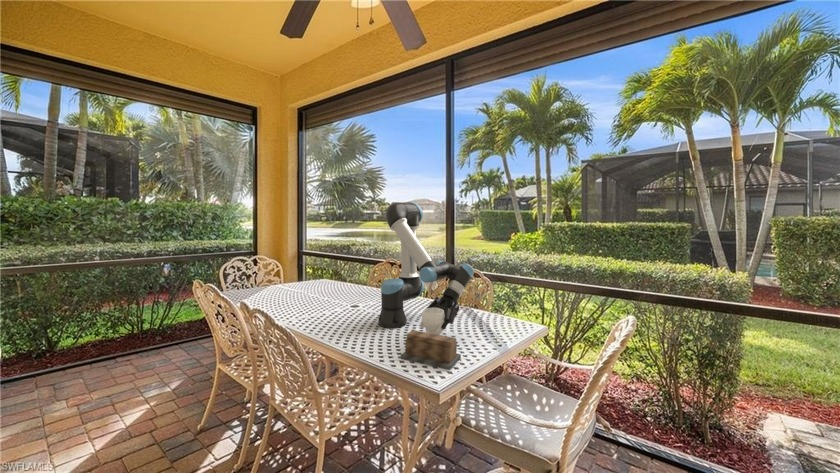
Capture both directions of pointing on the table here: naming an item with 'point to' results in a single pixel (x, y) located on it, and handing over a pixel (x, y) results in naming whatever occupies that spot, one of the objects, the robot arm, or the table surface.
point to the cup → (432, 319)
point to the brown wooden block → (431, 349)
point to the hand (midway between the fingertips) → (428, 330)
